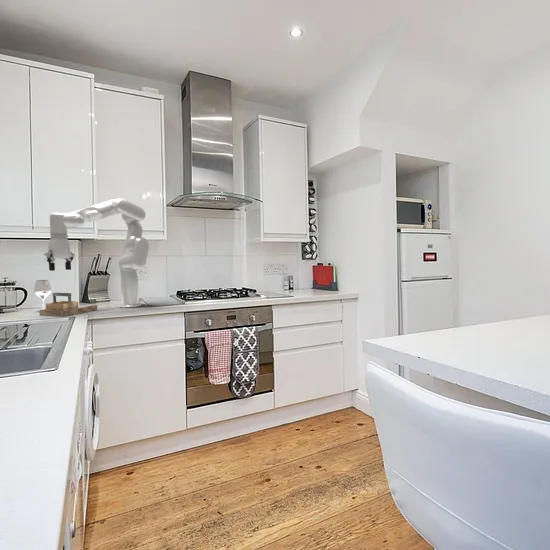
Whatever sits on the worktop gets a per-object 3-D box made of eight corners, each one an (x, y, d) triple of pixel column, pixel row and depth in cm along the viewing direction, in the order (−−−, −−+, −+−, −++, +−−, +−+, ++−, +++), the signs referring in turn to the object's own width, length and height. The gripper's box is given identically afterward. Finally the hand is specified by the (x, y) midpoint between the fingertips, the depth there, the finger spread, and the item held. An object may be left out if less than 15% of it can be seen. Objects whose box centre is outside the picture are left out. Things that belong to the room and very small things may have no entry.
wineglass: (35, 314, 202) (33, 281, 200) (34, 312, 208) (32, 280, 207) (53, 312, 206) (51, 280, 205) (51, 311, 213) (49, 279, 212)
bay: (75, 310, 213) (75, 303, 213) (97, 312, 208) (97, 304, 207) (39, 317, 192) (39, 309, 192) (63, 319, 187) (63, 311, 187)
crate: (63, 311, 202) (62, 291, 202) (78, 312, 199) (77, 292, 198) (46, 314, 193) (45, 293, 192) (62, 315, 189) (61, 294, 189)
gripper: (67, 237, 203) (68, 269, 204) (38, 236, 186) (39, 270, 187) (78, 237, 200) (79, 269, 201) (49, 236, 184) (50, 271, 185)
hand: (60, 270), depth 194 cm, fingers open, 9 cm apart
